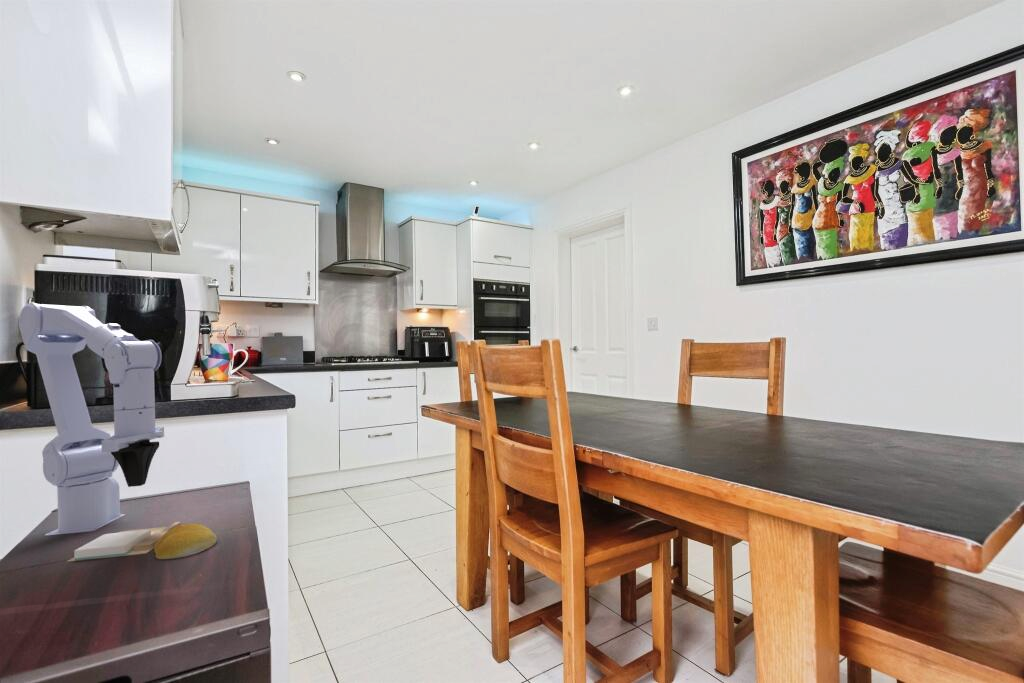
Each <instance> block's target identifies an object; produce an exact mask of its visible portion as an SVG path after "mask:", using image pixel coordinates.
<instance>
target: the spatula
mask: <svg viewBox="0 0 1024 683" xmlns="http://www.w3.org/2000/svg"><path fill="white" fill-rule="evenodd" d="M180 525H182V522H181V521H177V522H176V521H175V522H173V523H172V524H170V525H169V526H166V527H167V528H165V529H164V530H162V531H161V532H156V533H154V534H152V535H150V536H149V537H147V538H146V539H144V540H143V541H141V542H139V543H138V544H136V545H135V546H134V551H141V550H150V549H152V548H153V549H154V547H155V544H156V542H157V541H158V539H159V538H160V537H162V536H163V535H164V534H165V533H166V532H168V531H169V530H171V529H173V528H175V527H177V526H180ZM153 549H152V550H153ZM150 551H151V550H150Z"/></svg>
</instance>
